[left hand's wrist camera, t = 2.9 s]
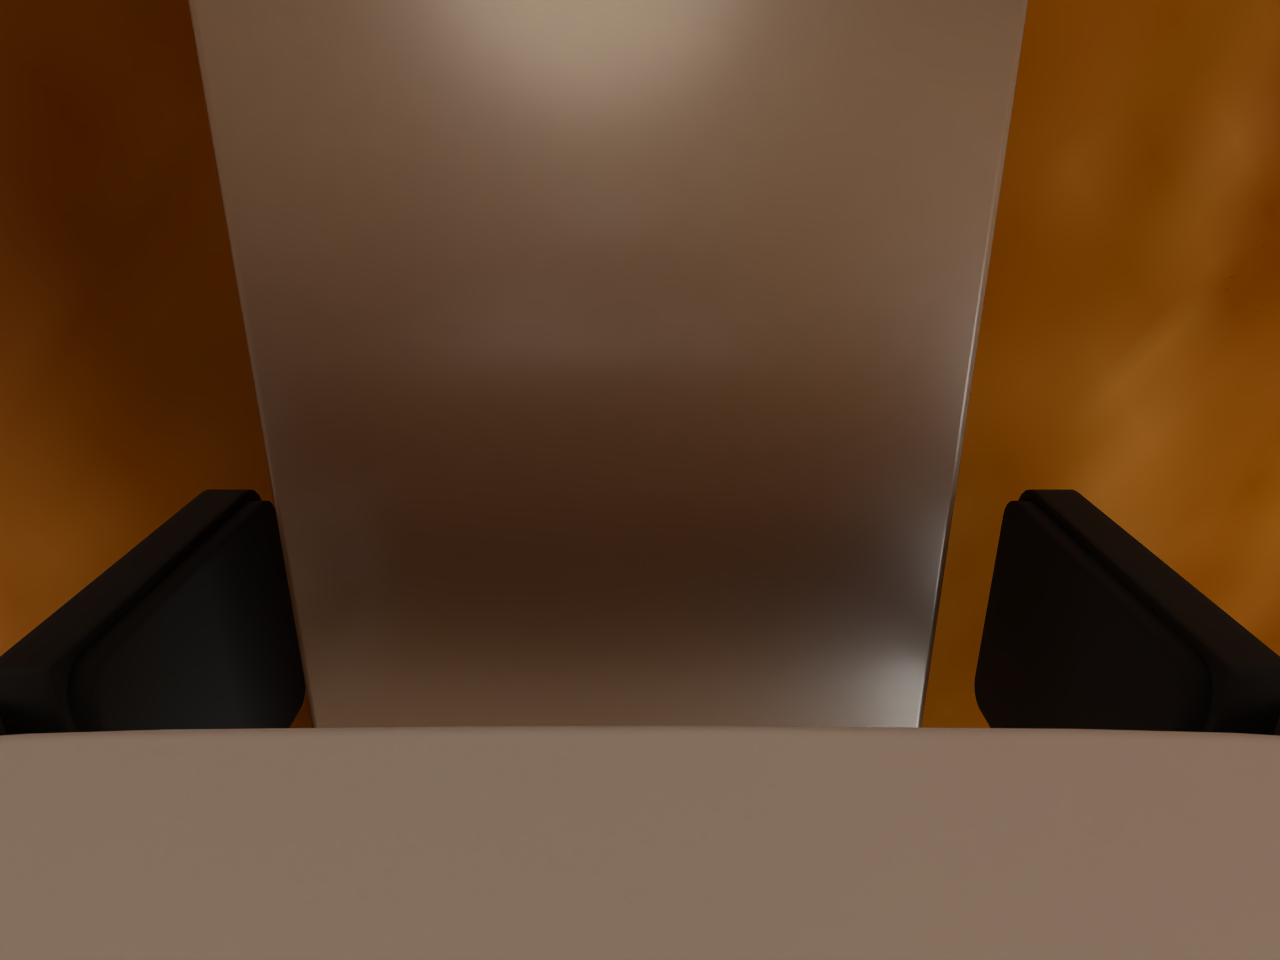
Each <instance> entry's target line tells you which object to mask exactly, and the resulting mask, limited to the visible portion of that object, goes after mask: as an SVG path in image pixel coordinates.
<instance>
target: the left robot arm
mask: <svg viewBox="0 0 1280 960" xmlns="http://www.w3.org/2000/svg"><path fill="white" fill-rule="evenodd" d="M304 695H305V679H304V673H303V667H302V662H301V656H300V650H299V644H298V638H297V632H296V627H295V621H294V615H293V609H292V603H291V597H290V592H289V586H288V580H287V574H286V568H285V562H284V557H283V551H282V545H281V539H280V533H279V527H278V522H277V516H276V511H275V508H274V506H273V504H272V503H271V502H270V501H262V500H261V498H260V496H259V494H257V493H256V492H255V491H254V490H206V491H204V492H202V493H201V494H199V495H198V496H197V497H196V498H194V499H193V500H192V501H191V502H190V503H188V504H187V505H186V506H185V507H183V508H182V509H181V510H180V511H179V512H177V513H176V514H175V515H174V516H172V517H171V518H170V519H169V520H167V521H166V522H165V523H164V524H163V525H161V526H160V527H159V528H158V529H156V530H155V531H154V532H153V533H152V534H150V535H149V536H148V537H147V538H145V539H144V540H143V541H142V542H140V543H139V544H138V545H137V546H136V547H134V548H133V549H132V550H131V551H129V552H128V553H127V554H126V555H125V556H123V557H122V558H121V559H120V560H118V561H117V562H116V563H115V564H113V565H112V566H111V567H110V568H109V569H107V570H106V571H105V572H104V573H102V574H101V575H100V576H99V577H98V578H96V579H95V580H94V581H93V582H91V583H90V584H89V585H88V586H86V587H85V588H84V589H83V590H82V591H80V592H79V593H78V594H77V595H75V596H74V597H73V598H72V599H71V600H69V601H68V602H67V603H66V604H64V605H63V606H62V607H61V608H59V609H58V610H57V611H56V612H55V613H53V614H52V615H51V616H50V617H48V618H47V619H46V620H45V621H44V622H42V623H41V624H40V625H39V626H37V627H36V628H35V629H34V630H32V631H31V632H30V633H29V634H28V635H26V636H25V637H24V638H23V639H21V640H20V641H19V642H18V643H17V644H15V645H14V646H13V647H12V648H10V649H9V650H8V651H7V652H5V653H4V654H3V655H2V656H1V657H0V960H1280V657H1279V656H1278V655H1277V654H1276V653H1275V652H1273V651H1272V650H1271V649H1270V648H1268V647H1267V646H1266V645H1265V644H1263V643H1262V642H1261V641H1260V640H1259V639H1257V638H1256V637H1255V636H1254V635H1252V634H1251V633H1250V632H1249V631H1248V630H1246V629H1245V628H1244V627H1243V626H1241V625H1240V624H1239V623H1238V622H1236V621H1235V620H1234V619H1233V618H1232V617H1230V616H1229V615H1228V614H1227V613H1225V612H1224V611H1223V610H1222V609H1221V608H1219V607H1218V606H1217V605H1216V604H1214V603H1213V602H1212V601H1211V600H1209V599H1208V598H1207V597H1206V596H1205V595H1203V594H1202V593H1201V592H1200V591H1198V590H1197V589H1196V588H1195V587H1194V586H1192V585H1191V584H1190V583H1189V582H1187V581H1186V580H1185V579H1184V578H1182V577H1181V576H1180V575H1179V574H1178V573H1176V572H1175V571H1174V570H1173V569H1171V568H1170V567H1169V566H1168V565H1167V564H1165V563H1164V562H1163V561H1162V560H1160V559H1159V558H1158V557H1157V556H1155V555H1154V554H1153V553H1152V552H1151V551H1149V550H1148V549H1147V548H1146V547H1144V546H1143V545H1142V544H1141V543H1140V542H1138V541H1137V540H1136V539H1135V538H1133V537H1132V536H1131V535H1130V534H1128V533H1127V532H1126V531H1125V530H1124V529H1122V528H1121V527H1120V526H1119V525H1117V524H1116V523H1115V522H1114V521H1113V520H1111V519H1110V518H1109V517H1108V516H1106V515H1105V514H1104V513H1103V512H1101V511H1100V510H1099V509H1098V508H1097V507H1095V506H1094V505H1093V504H1092V503H1090V502H1089V501H1088V500H1087V499H1086V498H1084V497H1083V496H1082V495H1081V494H1079V493H1078V492H1076V491H1074V490H1026V491H1025V492H1024V493H1023V494H1021V496H1020V498H1019V500H1018V501H1010V502H1009V503H1008V504H1007V506H1006V508H1005V511H1004V515H1003V520H1002V526H1001V532H1000V537H999V543H998V549H997V555H996V560H995V566H994V572H993V578H992V583H991V589H990V595H989V601H988V606H987V612H986V618H985V624H984V629H983V635H982V641H981V647H980V652H979V658H978V664H977V670H976V675H975V695H976V700H977V704H978V706H979V708H980V710H981V712H982V714H983V716H984V717H985V719H986V721H987V722H988V724H989V726H990V727H991V728H909V727H789V726H455V727H360V728H289V727H290V726H291V724H292V722H293V721H294V719H295V717H296V716H297V714H298V712H299V710H300V708H301V706H302V704H303V700H304Z"/></svg>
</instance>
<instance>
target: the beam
mask: <svg viewBox="0 0 1280 960" xmlns="http://www.w3.org/2000/svg"><path fill="white" fill-rule="evenodd" d="M188 3H189V8H190V14H191V20H192V26H193V32H194V38H195V43H196V49H197V55H198V61H199V67H200V73H201V78H202V84H203V90H204V96H205V102H206V108H207V113H208V119H209V125H210V131H211V137H212V143H213V148H214V154H215V160H216V166H217V172H218V178H219V183H220V189H221V195H222V201H223V207H224V213H225V218H226V224H227V230H228V236H229V242H230V248H231V253H232V259H233V265H234V271H235V277H236V283H237V288H238V294H239V300H240V306H241V312H242V318H243V323H244V329H245V335H246V341H247V347H248V352H249V358H250V364H251V370H252V376H253V382H254V387H255V393H256V399H257V405H258V411H259V417H260V422H261V428H262V434H263V440H264V446H265V452H266V457H267V463H268V469H269V475H270V481H271V487H272V492H273V498H274V504H275V510H276V516H277V522H278V527H279V533H280V539H281V545H282V551H283V557H284V562H285V568H286V574H287V580H288V586H289V592H290V597H291V603H292V609H293V615H294V621H295V627H296V632H297V638H298V644H299V650H300V656H301V662H302V667H303V673H304V679H305V685H306V691H307V697H308V702H309V708H310V714H311V720H312V726H313V728H360V727H455V726H789V727H909V728H921V725H922V718H923V711H924V704H925V697H926V691H927V684H928V677H929V670H930V663H931V657H932V650H933V643H934V636H935V630H936V623H937V616H938V609H939V602H940V596H941V589H942V582H943V575H944V568H945V562H946V555H947V548H948V541H949V534H950V528H951V521H952V514H953V507H954V500H955V494H956V487H957V480H958V473H959V467H960V460H961V453H962V446H963V439H964V433H965V426H966V419H967V412H968V405H969V399H970V392H971V385H972V378H973V371H974V365H975V358H976V351H977V344H978V337H979V331H980V324H981V317H982V310H983V304H984V297H985V290H986V283H987V276H988V270H989V263H990V256H991V249H992V242H993V236H994V229H995V222H996V215H997V208H998V202H999V195H1000V188H1001V181H1002V174H1003V168H1004V161H1005V154H1006V147H1007V141H1008V134H1009V127H1010V120H1011V113H1012V107H1013V100H1014V93H1015V86H1016V79H1017V73H1018V66H1019V59H1020V52H1021V45H1022V39H1023V32H1024V25H1025V18H1026V11H1027V5H1028V0H188Z"/></svg>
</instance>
